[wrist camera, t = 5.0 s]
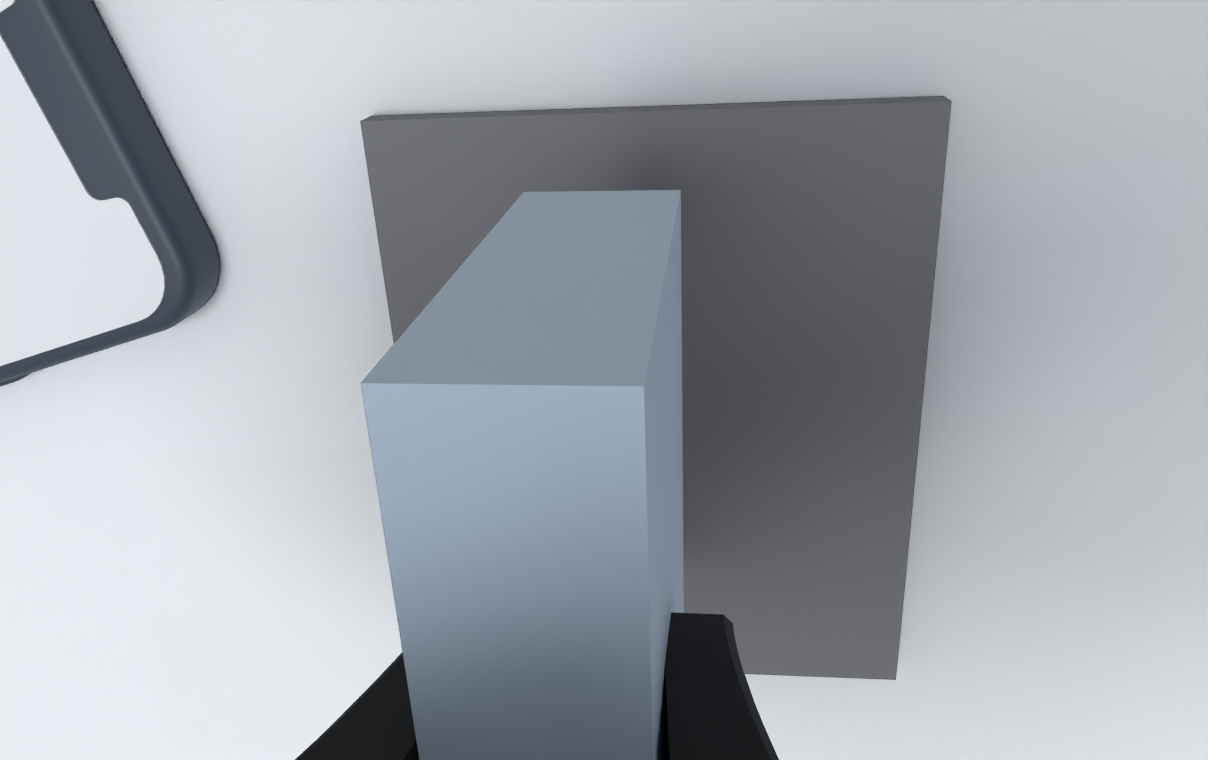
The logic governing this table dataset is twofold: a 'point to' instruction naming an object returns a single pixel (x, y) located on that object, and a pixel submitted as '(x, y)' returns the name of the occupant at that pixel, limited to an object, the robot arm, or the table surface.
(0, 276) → the phone case
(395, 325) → the mat
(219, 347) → the table surface
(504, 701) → the panel
